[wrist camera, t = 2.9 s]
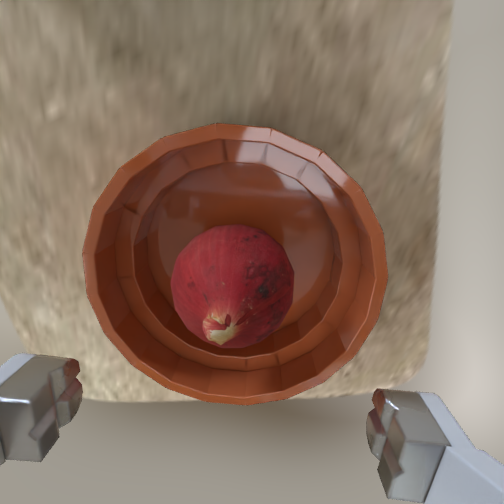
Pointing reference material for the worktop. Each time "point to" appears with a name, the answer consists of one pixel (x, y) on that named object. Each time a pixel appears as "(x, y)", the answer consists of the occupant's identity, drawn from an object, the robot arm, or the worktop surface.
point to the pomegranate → (232, 285)
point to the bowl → (229, 213)
